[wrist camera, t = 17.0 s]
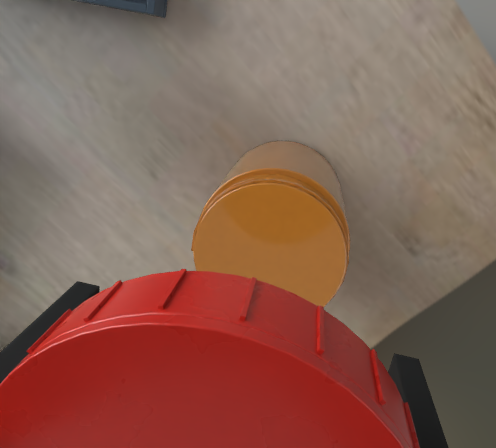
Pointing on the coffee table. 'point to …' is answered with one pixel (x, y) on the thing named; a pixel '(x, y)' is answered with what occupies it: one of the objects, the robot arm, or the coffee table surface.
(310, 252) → the jar
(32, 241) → the coffee table surface
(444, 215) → the coffee table surface
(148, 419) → the lid
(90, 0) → the tray
